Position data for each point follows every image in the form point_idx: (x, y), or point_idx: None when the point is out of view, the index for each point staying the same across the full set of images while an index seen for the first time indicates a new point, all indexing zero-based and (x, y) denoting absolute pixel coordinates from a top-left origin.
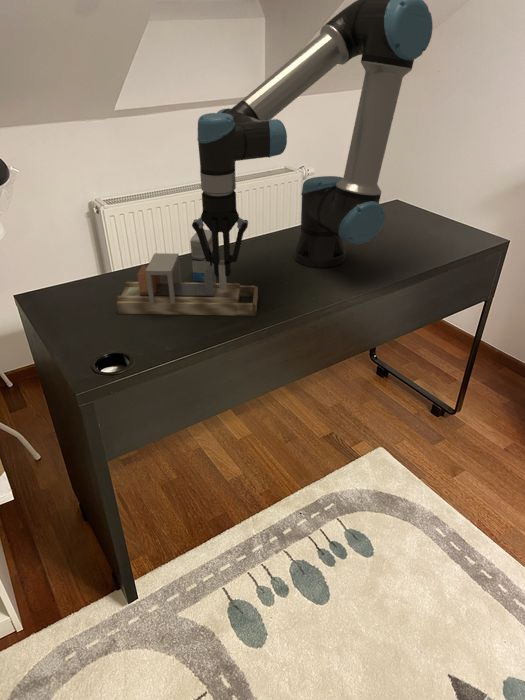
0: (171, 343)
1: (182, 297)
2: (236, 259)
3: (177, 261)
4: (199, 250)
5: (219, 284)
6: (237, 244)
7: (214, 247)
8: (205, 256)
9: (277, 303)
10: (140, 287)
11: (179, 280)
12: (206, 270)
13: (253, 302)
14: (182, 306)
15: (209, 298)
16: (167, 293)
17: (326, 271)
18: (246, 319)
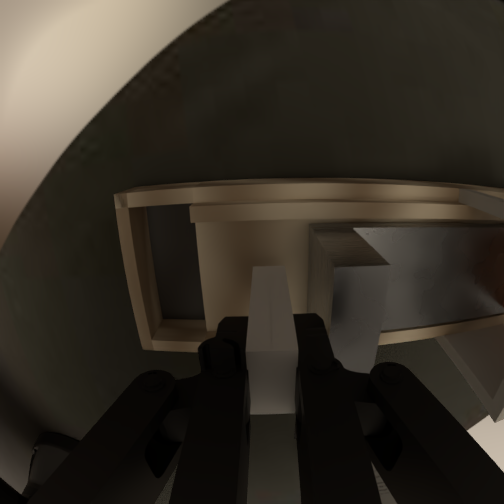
0: (405, 3)
1: (443, 212)
2: (135, 384)
3: (490, 390)
4: (381, 482)
5: (286, 277)
6: (71, 494)
7: (354, 484)
8: (422, 390)
9: (86, 280)
10: None
11: (450, 339)
12: (373, 345)
13: (126, 214)
14: (428, 185)
15: (329, 206)
16: (491, 237)
17: (47, 420)
18: (164, 155)
